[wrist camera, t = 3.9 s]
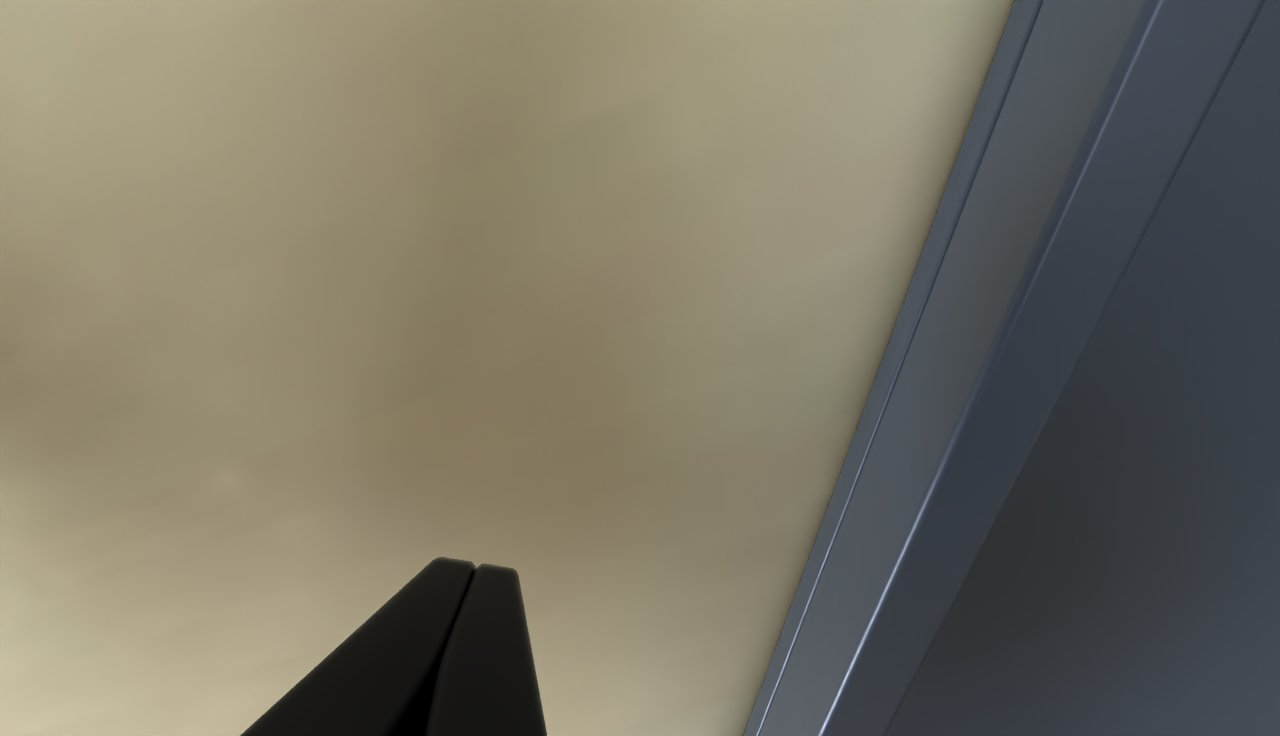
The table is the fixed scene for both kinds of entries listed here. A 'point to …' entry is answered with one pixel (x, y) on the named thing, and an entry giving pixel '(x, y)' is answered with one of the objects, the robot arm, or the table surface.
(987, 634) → the tray
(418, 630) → the robot arm
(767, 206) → the table surface
